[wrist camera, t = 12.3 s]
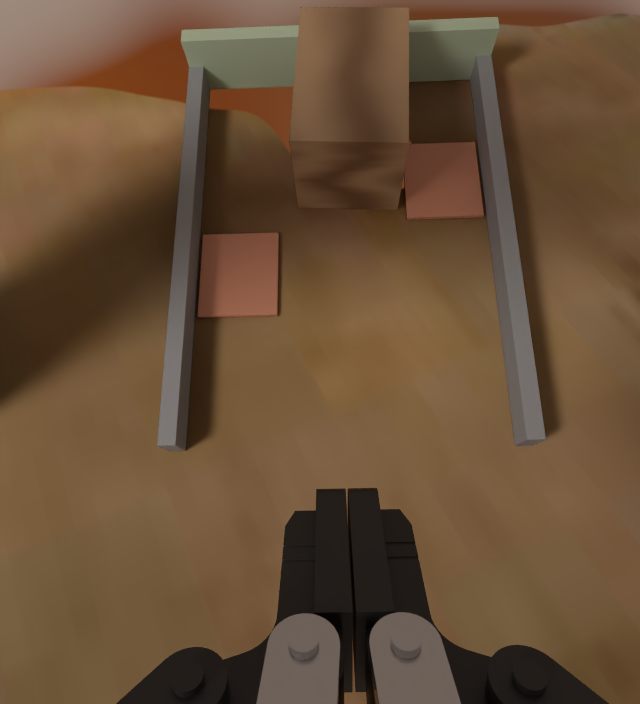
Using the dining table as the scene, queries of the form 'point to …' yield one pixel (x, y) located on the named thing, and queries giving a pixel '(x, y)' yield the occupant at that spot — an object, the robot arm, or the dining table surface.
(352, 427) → the dining table surface
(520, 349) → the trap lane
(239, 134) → the dining table surface
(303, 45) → the walnut block
